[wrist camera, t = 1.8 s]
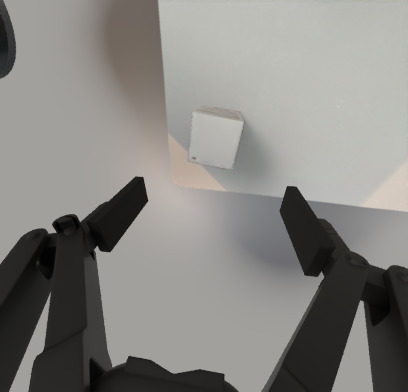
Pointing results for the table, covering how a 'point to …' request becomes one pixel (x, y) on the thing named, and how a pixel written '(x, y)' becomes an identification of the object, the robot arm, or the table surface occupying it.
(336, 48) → the table surface
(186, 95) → the table surface
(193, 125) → the white packaging box
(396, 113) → the table surface
